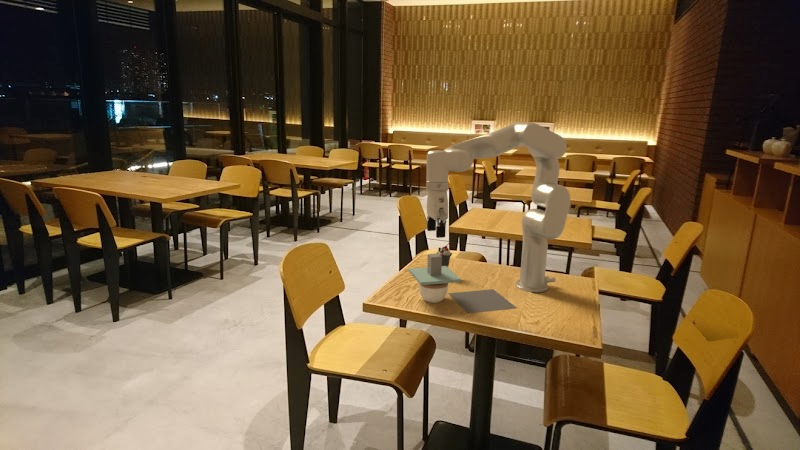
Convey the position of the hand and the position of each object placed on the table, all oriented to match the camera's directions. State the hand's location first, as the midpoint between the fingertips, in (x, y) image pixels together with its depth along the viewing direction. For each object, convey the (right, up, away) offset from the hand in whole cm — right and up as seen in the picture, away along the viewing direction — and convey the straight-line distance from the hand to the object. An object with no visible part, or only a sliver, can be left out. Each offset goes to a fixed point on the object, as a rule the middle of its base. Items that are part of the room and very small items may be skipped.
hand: (435, 233), depth 169 cm
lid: (0, -16, +4) cm, 16 cm away
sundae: (+6, -19, +32) cm, 37 cm away
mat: (+17, -25, +6) cm, 31 cm away
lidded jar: (-1, -25, +6) cm, 26 cm away
